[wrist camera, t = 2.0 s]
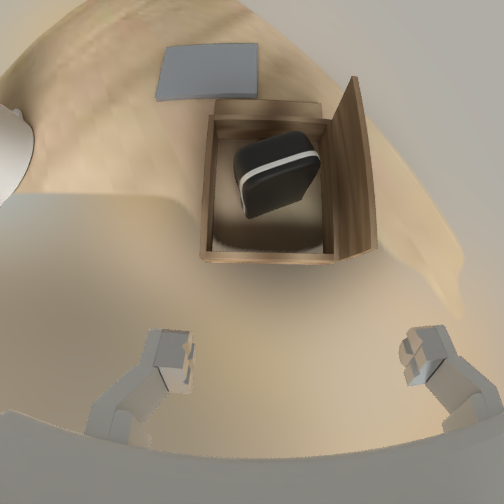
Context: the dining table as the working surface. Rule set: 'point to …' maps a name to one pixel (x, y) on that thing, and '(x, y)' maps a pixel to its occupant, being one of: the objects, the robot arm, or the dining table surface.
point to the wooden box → (331, 164)
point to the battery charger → (274, 172)
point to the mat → (209, 72)
